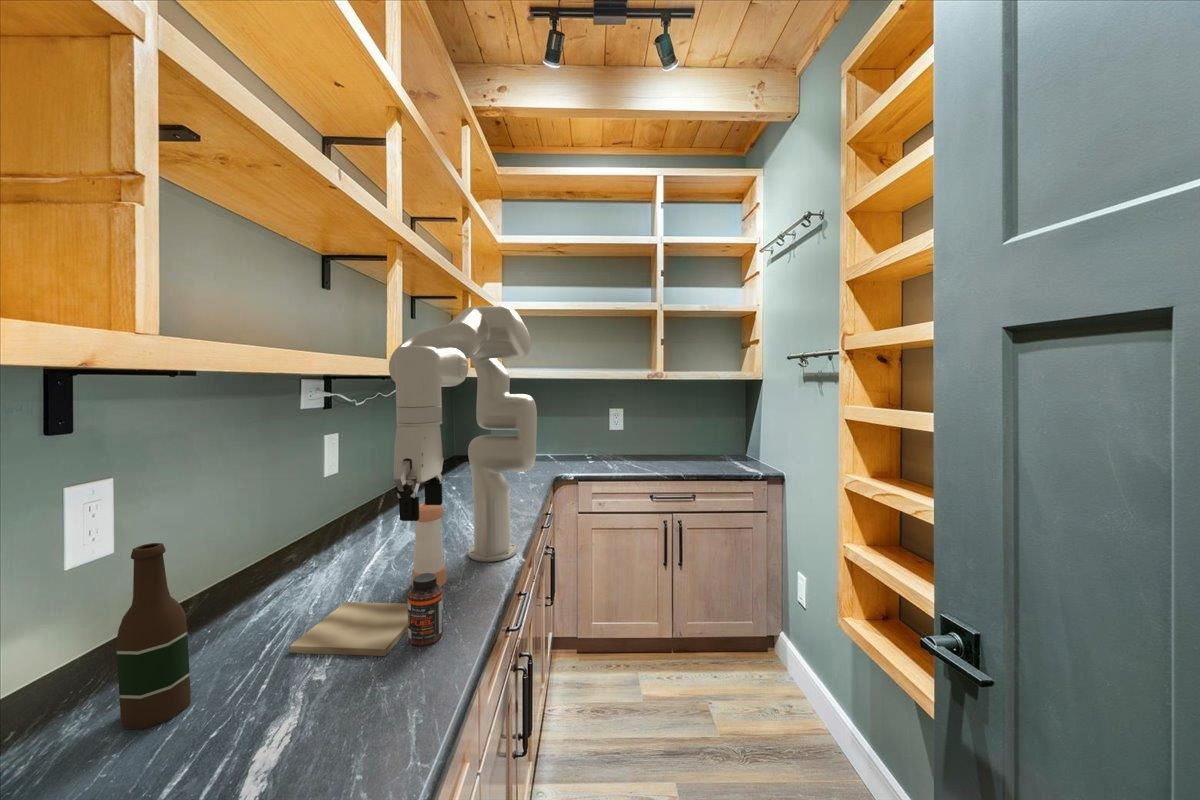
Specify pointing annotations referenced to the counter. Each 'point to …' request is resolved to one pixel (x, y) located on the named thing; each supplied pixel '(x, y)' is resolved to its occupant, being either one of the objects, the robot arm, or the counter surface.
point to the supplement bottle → (425, 610)
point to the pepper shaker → (429, 543)
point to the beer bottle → (152, 647)
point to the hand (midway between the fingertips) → (422, 512)
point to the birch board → (356, 630)
